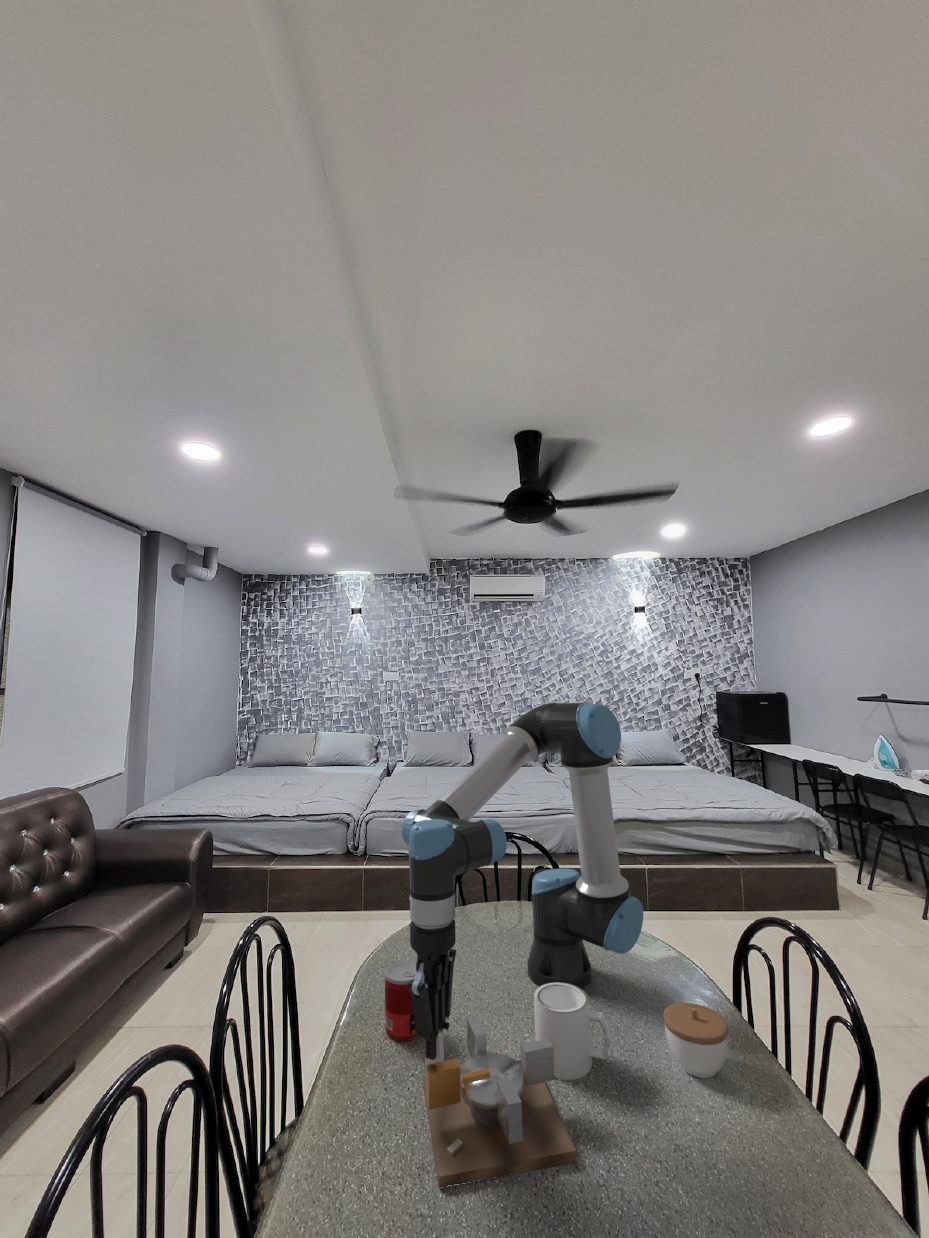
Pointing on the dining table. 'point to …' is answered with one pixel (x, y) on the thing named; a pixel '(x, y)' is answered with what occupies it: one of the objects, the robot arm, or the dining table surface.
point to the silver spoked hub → (490, 1079)
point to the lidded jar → (696, 1038)
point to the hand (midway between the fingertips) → (434, 1075)
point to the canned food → (399, 1001)
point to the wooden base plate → (497, 1139)
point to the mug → (568, 1028)
